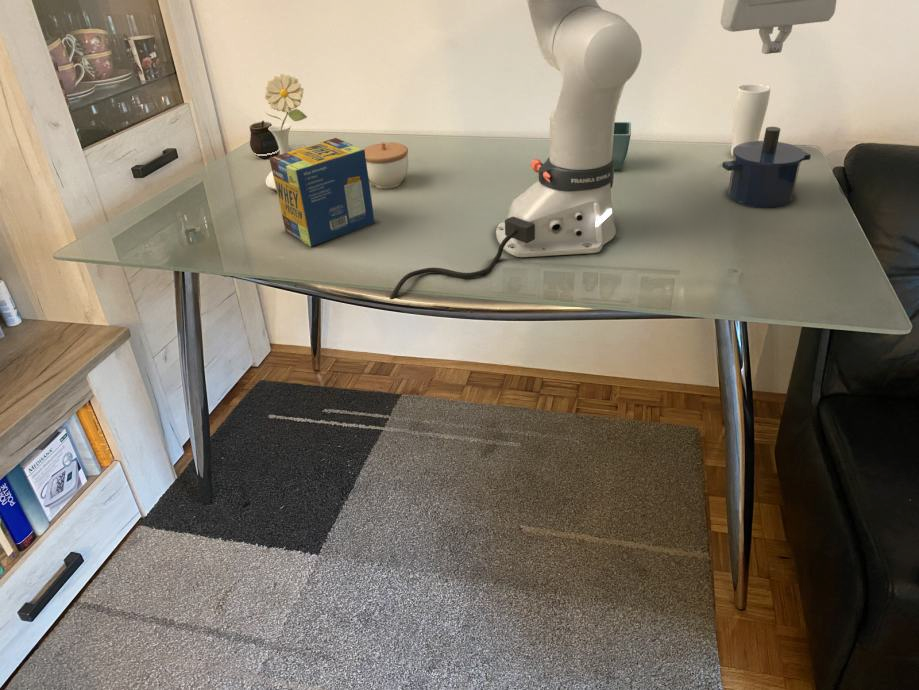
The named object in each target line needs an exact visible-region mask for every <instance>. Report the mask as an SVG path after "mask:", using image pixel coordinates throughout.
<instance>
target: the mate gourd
mask: <svg viewBox="0 0 919 690" xmlns="http://www.w3.org/2000/svg"><path fill="white" fill-rule="evenodd" d="M272 125H273V124H272V123H271V122H269V121H265V120H261V121H259V122H254V123H252V124H251V125H249V132H250V137H249V147H250V150H251V151H252V152H254V153H256V154H267V153H272V152H275V151H277V150H278V149H279V146H278V143H277V141H276V138H275V136H274V135H273V134H272V132H271V131H270V130H269V129H268V128H269V127H270V126H272ZM254 153H253V154H254ZM278 153H279V151H278V152H277V153H275V154H272V155H267V156H257V155H255V156H256V157H258V158H261V159H269V158H270V157H274V156H277V155H278Z"/></svg>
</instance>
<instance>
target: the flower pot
mask: <svg viewBox="0 0 919 690" xmlns="http://www.w3.org/2000/svg"><path fill="white" fill-rule="evenodd" d="M631 135H632V123H631V122H630V121H615V124H614V136H613V150H612V157H613V158H614V171H619V170H621V168H622V166H623V165H624V163H625V162H626V159H627V156H628V151H629V145H630V141H631Z"/></svg>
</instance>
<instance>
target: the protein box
mask: <svg viewBox="0 0 919 690" xmlns="http://www.w3.org/2000/svg"><path fill="white" fill-rule="evenodd" d="M268 159H269V163H270V167H271V168H270V169H271V171H272V172H273V177H274V181H275V186H276V190H275V191H276V195H277V198H278V203H279V207H280V212H281V213H280V214H281V218H282V221H283V226H284V231H285V232H286V233H288V234H289V235H291V236H292V237H294V238H296V239H297V240H299V241H301V243H304V244H305V245H307V247H310V248H312V247H314V246H318V245H321V244H323V243H325V242H328V241H330V240H334V239H337V238H339V237H341V236H344V235H346V234H350V233H352V232H355V231H357V230H361V229H363V228H365V227H367V226H371V225H373V224H375V222H376V221H375V214H374V208H373V200H372V193H371V185H370V181H369V178H368V171H367V164H366V157H365V150H364V148H361V147H359V146H356V145H354V144H351V143H349V142H347V141H345V140H342V139H339V138H337V137H334V138H330V139H327V140H324V141H322V142H321V141H320V142H318V143H314V144H311V145H307V146H304V147H301V148H297V149H294V150H291V151H290V152H287V153H284V154H281V155H280V154H276V155H275V156H273V157H270V158H268Z"/></svg>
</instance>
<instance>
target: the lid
mask: <svg viewBox="0 0 919 690" xmlns="http://www.w3.org/2000/svg"><path fill="white" fill-rule="evenodd" d="M780 133H781V128H780V127H778V126H766V128H765V130H764V136H763V140H758V141H753V142H746V143H742V144H739V145H737V146H736V147H734V149H733V155H734V156H733V158H734V157H735V158H737V159H738V160H740V161H743V162H745V163H749V164H753V165H759V166H769V167H780V166H789V165H794V164H797V163H800V162H801V163H802V162H803V161H805V160H804V158H805V152H806V151H805V150H803V149H802V148H800V147H799V146H796V145H793V144H790V143H786V142H781V141H779V138H780ZM804 151H805V152H804ZM801 163H800V164H801Z"/></svg>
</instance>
